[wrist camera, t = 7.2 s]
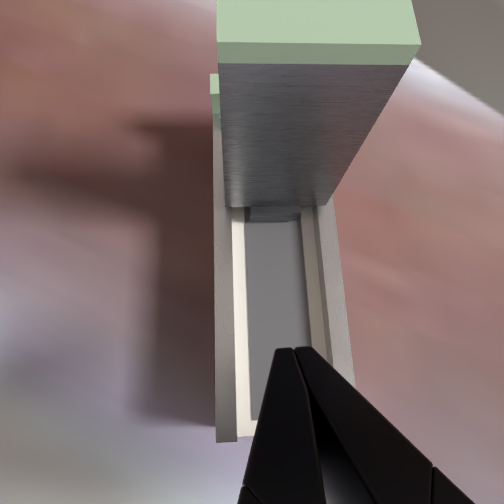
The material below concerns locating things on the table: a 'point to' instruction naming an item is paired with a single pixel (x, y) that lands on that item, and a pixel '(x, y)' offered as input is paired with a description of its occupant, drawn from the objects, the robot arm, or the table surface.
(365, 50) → the fader tab
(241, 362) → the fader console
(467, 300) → the table surface
